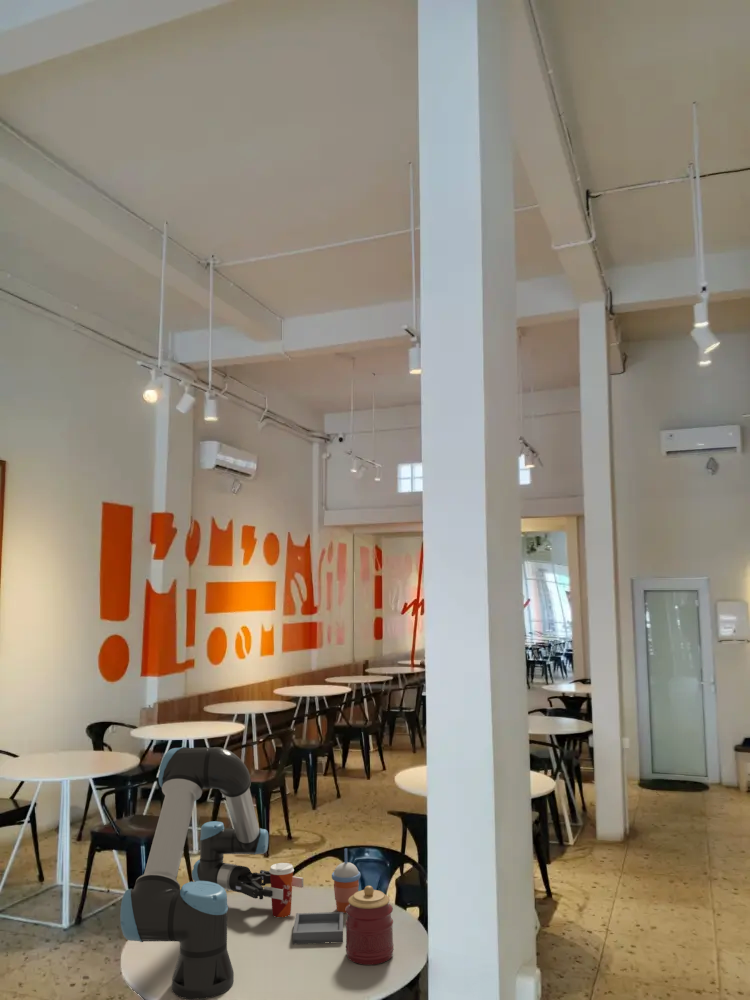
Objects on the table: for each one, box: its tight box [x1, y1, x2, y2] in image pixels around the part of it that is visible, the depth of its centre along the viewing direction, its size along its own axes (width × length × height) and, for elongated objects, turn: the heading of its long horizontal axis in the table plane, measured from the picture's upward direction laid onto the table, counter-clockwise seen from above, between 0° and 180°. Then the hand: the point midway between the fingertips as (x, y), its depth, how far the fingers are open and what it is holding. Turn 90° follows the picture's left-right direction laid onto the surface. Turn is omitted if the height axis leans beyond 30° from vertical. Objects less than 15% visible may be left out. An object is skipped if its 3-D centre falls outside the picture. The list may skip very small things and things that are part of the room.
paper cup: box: [268, 862, 295, 918], centre depth 238 cm, size 8×8×14 cm
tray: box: [292, 911, 344, 945], centre depth 223 cm, size 14×14×3 cm
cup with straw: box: [331, 847, 362, 914], centre depth 241 cm, size 9×9×18 cm
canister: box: [344, 885, 394, 966], centre depth 209 cm, size 13×13×18 cm
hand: (292, 888), depth 236 cm, fingers open, 10 cm apart
